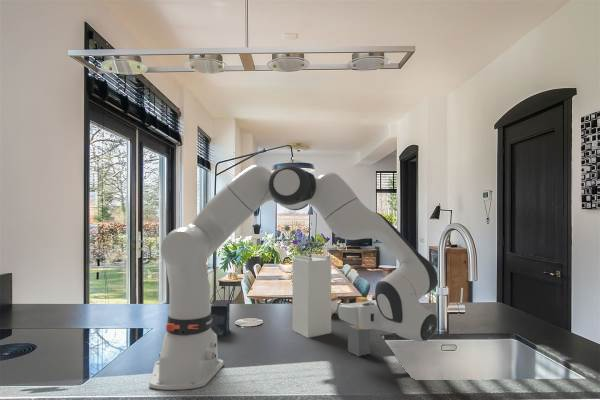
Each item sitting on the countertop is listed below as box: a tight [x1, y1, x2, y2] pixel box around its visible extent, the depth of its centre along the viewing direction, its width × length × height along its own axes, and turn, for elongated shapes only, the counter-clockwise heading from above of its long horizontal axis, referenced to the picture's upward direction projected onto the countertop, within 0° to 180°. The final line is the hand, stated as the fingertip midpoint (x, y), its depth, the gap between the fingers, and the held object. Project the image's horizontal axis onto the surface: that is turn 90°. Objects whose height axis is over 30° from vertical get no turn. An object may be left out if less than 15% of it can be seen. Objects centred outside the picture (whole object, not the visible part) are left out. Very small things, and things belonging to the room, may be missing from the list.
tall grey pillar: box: [291, 253, 332, 339], centre depth 145 cm, size 10×10×27 cm
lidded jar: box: [331, 293, 339, 317], centre depth 169 cm, size 11×11×9 cm
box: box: [210, 300, 231, 337], centre depth 143 cm, size 8×6×11 cm
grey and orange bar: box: [347, 296, 371, 357], centre depth 123 cm, size 17×4×5 cm
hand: (353, 303), depth 125 cm, fingers open, 8 cm apart
